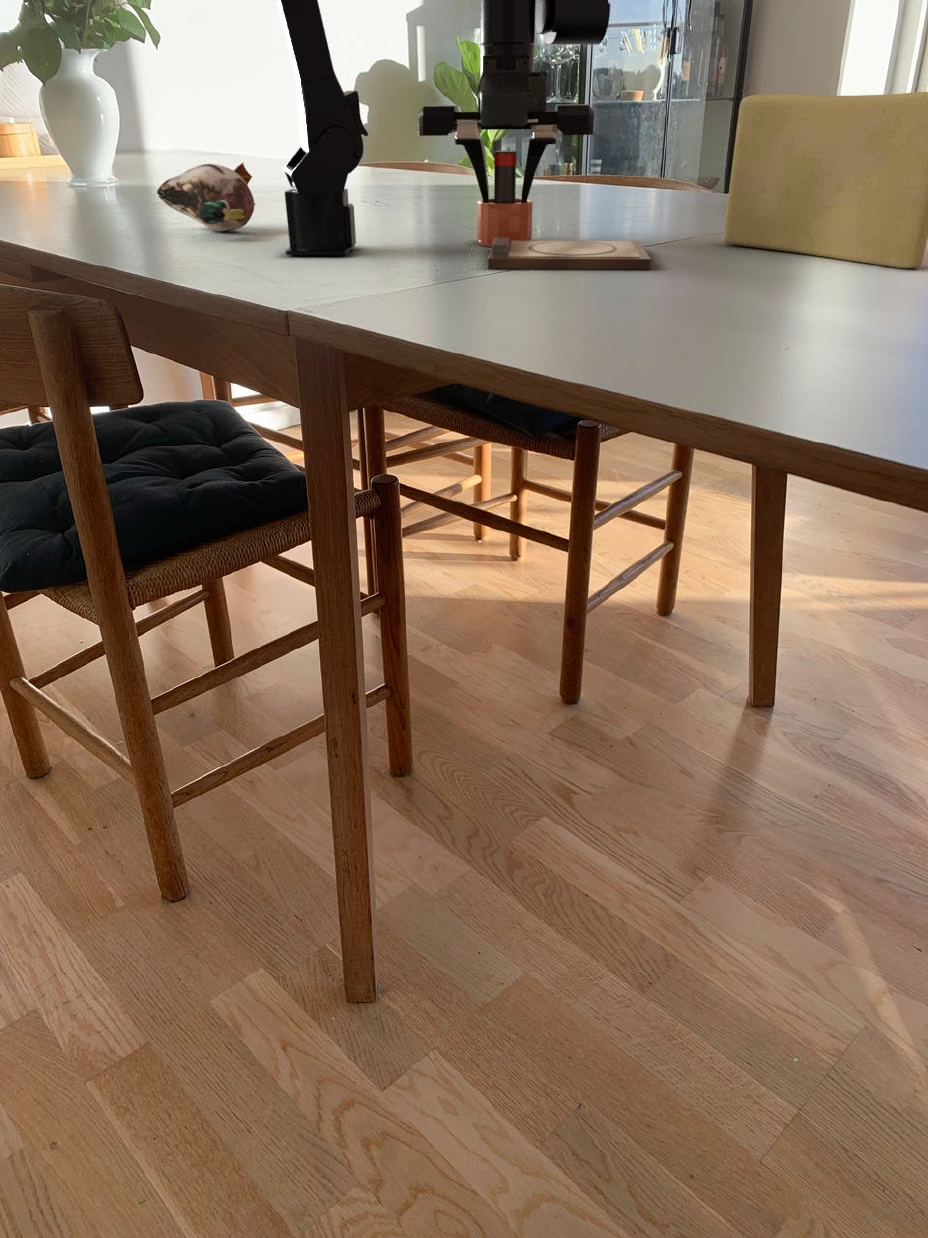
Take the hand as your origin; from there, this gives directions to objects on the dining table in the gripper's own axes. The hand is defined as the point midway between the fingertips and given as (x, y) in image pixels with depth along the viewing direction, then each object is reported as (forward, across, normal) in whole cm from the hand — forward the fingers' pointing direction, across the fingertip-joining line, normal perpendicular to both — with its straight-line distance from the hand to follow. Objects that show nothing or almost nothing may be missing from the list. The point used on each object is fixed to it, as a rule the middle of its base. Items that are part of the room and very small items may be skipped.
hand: (505, 206), depth 104 cm
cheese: (+4, +34, -7) cm, 35 cm away
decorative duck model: (+4, -38, +8) cm, 39 cm away
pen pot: (+4, 0, 0) cm, 4 cm away
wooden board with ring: (+4, +7, -11) cm, 14 cm away
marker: (+3, 0, 0) cm, 3 cm away
